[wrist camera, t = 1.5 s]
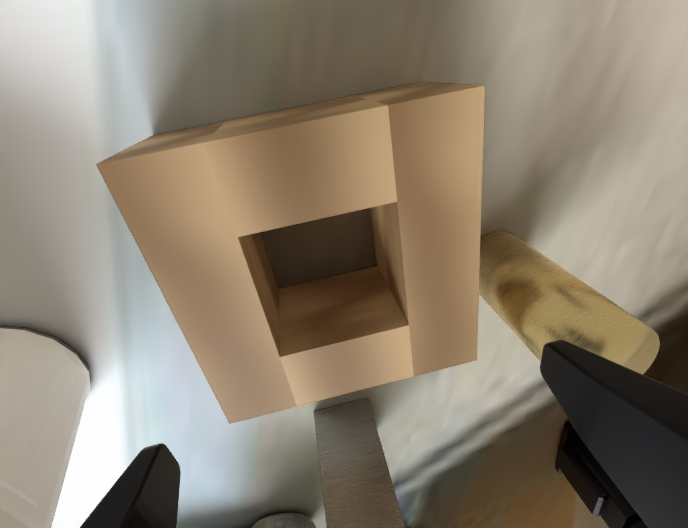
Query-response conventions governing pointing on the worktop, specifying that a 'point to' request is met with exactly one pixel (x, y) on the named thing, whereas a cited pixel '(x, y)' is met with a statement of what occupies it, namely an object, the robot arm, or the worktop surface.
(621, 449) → the robot arm
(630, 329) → the round dowel
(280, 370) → the socket block
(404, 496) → the worktop surface
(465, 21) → the worktop surface
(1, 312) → the worktop surface
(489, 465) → the worktop surface
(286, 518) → the pipe
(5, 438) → the cup
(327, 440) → the square bit
